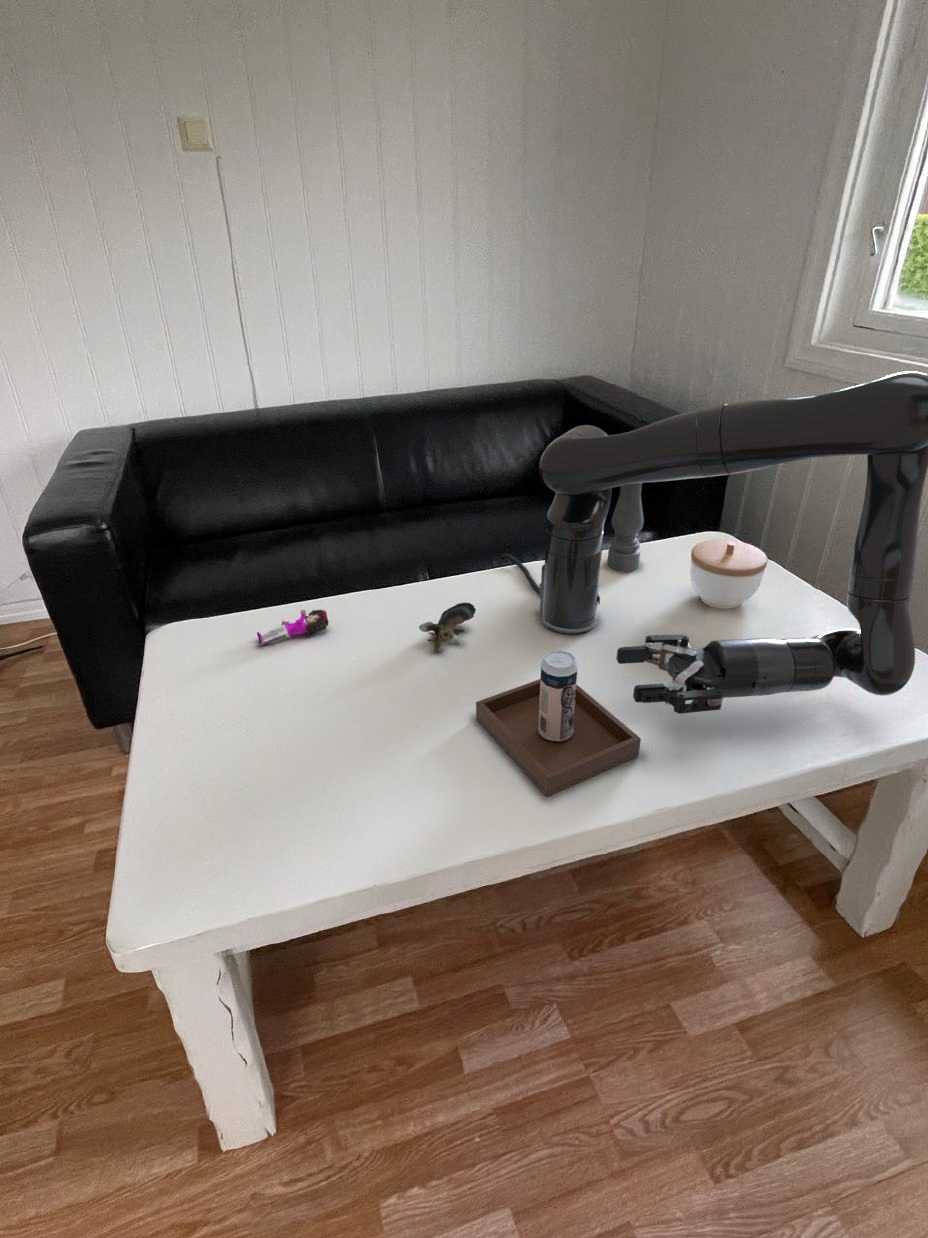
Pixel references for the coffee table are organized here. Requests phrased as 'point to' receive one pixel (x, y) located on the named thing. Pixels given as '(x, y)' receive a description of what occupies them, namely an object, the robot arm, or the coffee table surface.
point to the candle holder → (626, 530)
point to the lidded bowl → (726, 572)
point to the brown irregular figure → (449, 624)
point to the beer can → (557, 695)
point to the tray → (557, 762)
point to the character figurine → (297, 627)
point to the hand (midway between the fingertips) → (625, 674)
